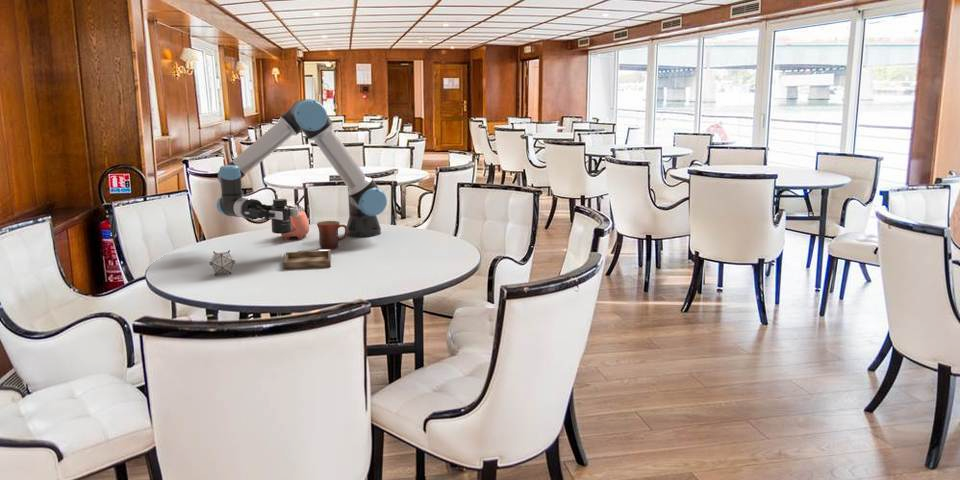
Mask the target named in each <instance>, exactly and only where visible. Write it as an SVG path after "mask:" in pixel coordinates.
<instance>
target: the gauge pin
mask: <svg viewBox="0 0 960 480" xmlns="http://www.w3.org/2000/svg"><path fill="white" fill-rule="evenodd" d="M329 250H330V252H332V251H331V249H327V250H324V249H312V250H311V249H307V250H298V251H297V252H308V251H329Z"/></svg>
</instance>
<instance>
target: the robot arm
mask: <svg viewBox="0 0 960 480" xmlns="http://www.w3.org/2000/svg"><path fill="white" fill-rule="evenodd" d="M327 113H328V112H327V110H326V108H325V106H324V105H323V104H322V103H320V102H319V101H317V100H315V99H311V98H310V99H309V98H308V99H305V98H304V99H299V100H297V101H295V102H294V103H292V105H291V106H290V107H289V108H288V109H287V110H286V111H285V112H284V113H283V114H282V115H280V117H279V121H277V123H275V125H273V126H271V127H270V128H269V129H268V130H267V131H266V132H264V133H263V134H262V135H261V136H260V137H259V138H257V139H256V140H255V141H254V142H253V143H252V144H250V145H249V146H248V147H247V148H246V149H244V150H243V151H242V152H240V153H239V154H238V155H237V156H236V157H235V158H234V159H232V161H230V162H229V163H228V164H226V165H221V166H220V167H219V170H218V172H217V180H218V182H219V184H220V189H221V194H220V195H221V196H220V197H219V198H218V199H217V202H216V207H217V211H218V212H219V213H220V214H222V215H225V216H229V217H234V218H235V217H237V218H241V219H244V220H259V219H265V221H269V219H271V218H272V219H279V220H283V212H278V211H271V208H272V207H274V205H273V204H270V205H269V204H265V203H264V204H263V203H262V202H261V201H260V200H258V199H255V198H253V199H252V198H249V197H248V198H247V197H243V189H242V179H243V178H244V177H245V176H247V174H249V173H250V172H251V171H252V170H253V169H254V168H255V167H257V166H258V165H259V164H261V162H263V161H264V160H265V159H266V158H267V157H269V156H270V155H271V154H272V153H273V152H275V151H276V150H277V149H279V147H281V146H282V145H283V144H285V142H287V141H288V140H289V139H290V138H291V137H293V136H298V135H299V134H300V133H301V132H303V134H304V136H305V137H306V138H307V139H308V140H309V141H313V142H315V144H316V145H317V147H318V148H319V150H320V151H321V152H322V154H323V155H324V156H325V158H326V159H327V161H329V163H330V165H331V166H332V167H333V169H334V171H335V172H336V173H337V174H338V176H339V177H340V179H341V180H342V181H343V182H344V185H346V187H347V195H348V213H349V214H348V220H347V223H346V226H347V229H348V232H347V236H349V237H361V238H363V237H372V236H374V237H375V236H378V235H380V234H382V230H381V229H382V228H381V225H380V223H379V220H378V217H377V216H379V215H380V214H382V213H383V212H384V211H385V210H386V207H387V205H388V204H387V203H388V199H387V195H386V194H385V192H384V191H383V190H382V189H380V188H379V186H378V185H377V184H376V182H375V181H374V179H373V178H372V177H369V176H366V175H365V173H364V171H363V170H362V169H361V168H360V166H359V164H358V163H357V162H356V160H355V158H353V156H352V155H351V152H349V151H348V149H347V148H346V146H345V145H344V143H343V142H342V141H341V139H340V138H339V136H338V135H337V134H336V132H335V131H334V129H333V124H334V123H333V121H332V119H331V118H330V117H329V116H328V114H327ZM287 206H288V207H289V208H290V216H296V217H299V212H300V210H299V209H298V208H294V207H291V206H289V205H288V204H287Z"/></svg>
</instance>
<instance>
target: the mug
mask: <svg viewBox="0 0 960 480" xmlns="http://www.w3.org/2000/svg"><path fill="white" fill-rule="evenodd" d="M316 226H317V229H318V236H319V238H318V239H319V246H320V249H321V250H327V249H331V250H335V249H337V248H339V243H340V241H342V240H343V241H344V239H346V237H347V236H348V235H347V232H348V229H347V224H346V225H345V224H341V223H340V221H337V220H324V221H323V220H322V221H317V223H316ZM340 228H344V235H343V236H340V237H339V229H340Z"/></svg>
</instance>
